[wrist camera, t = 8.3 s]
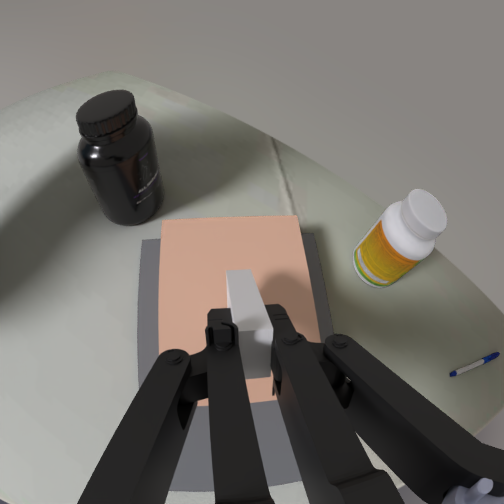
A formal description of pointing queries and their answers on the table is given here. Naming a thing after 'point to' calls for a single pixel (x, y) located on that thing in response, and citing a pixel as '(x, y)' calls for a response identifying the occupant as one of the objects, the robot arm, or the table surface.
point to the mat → (198, 438)
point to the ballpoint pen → (475, 364)
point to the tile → (214, 278)
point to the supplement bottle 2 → (399, 239)
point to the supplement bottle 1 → (119, 157)
